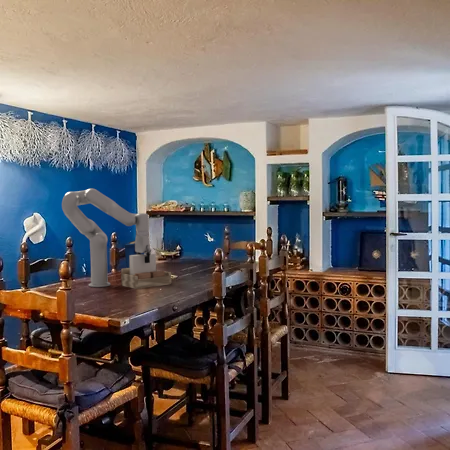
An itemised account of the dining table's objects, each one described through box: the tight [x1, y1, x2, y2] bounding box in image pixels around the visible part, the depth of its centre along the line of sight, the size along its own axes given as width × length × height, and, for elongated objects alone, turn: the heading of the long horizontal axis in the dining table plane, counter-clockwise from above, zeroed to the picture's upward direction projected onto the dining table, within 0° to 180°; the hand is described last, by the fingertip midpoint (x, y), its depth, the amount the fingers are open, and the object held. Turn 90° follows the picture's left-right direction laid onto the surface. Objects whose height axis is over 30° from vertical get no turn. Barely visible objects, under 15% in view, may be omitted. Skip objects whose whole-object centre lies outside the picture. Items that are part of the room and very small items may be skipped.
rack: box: [120, 264, 172, 290], centre depth 296 cm, size 17×24×10 cm
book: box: [124, 240, 147, 268], centre depth 313 cm, size 22×7×25 cm, turn 168°
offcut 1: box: [135, 272, 151, 280], centre depth 290 cm, size 4×8×8 cm, turn 132°
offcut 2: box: [150, 270, 166, 278], centre depth 297 cm, size 4×8×8 cm, turn 132°
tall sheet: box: [129, 252, 157, 275], centre depth 299 cm, size 4×16×18 cm, turn 132°
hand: (143, 262), depth 299 cm, fingers open, 8 cm apart
